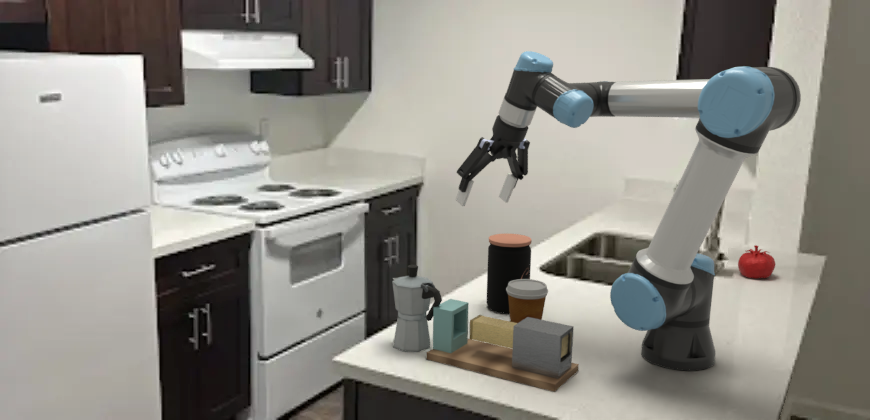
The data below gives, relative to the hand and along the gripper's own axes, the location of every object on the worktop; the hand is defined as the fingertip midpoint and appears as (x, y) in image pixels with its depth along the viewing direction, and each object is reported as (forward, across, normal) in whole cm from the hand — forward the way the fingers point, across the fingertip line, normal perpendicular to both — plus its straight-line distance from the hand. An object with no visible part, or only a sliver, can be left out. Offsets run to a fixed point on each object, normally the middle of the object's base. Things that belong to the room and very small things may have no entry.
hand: (482, 201), depth 189 cm
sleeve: (+13, +11, +41) cm, 44 cm away
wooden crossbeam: (+12, +13, +35) cm, 39 cm away
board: (+18, +14, +34) cm, 40 cm away
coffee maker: (+26, +22, +16) cm, 37 cm away
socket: (+21, +18, +22) cm, 36 cm away
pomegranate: (+15, -92, +28) cm, 97 cm away
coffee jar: (+27, -13, +9) cm, 31 cm away
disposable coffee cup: (+21, -3, +24) cm, 32 cm away
